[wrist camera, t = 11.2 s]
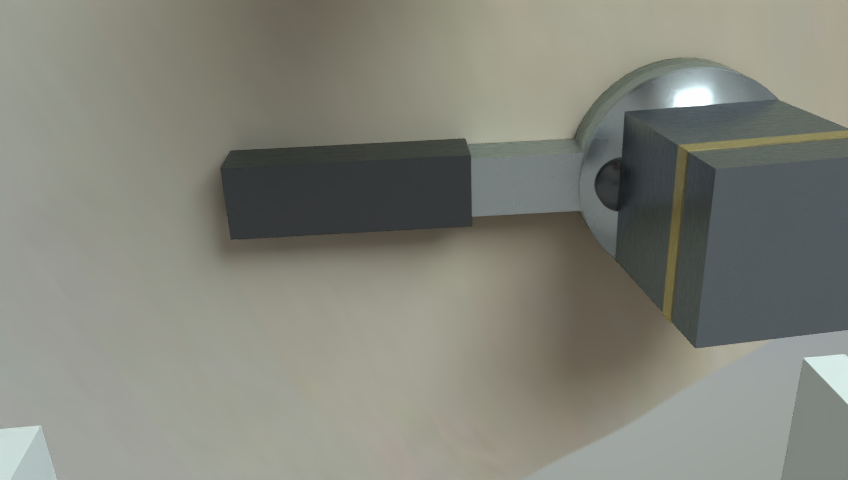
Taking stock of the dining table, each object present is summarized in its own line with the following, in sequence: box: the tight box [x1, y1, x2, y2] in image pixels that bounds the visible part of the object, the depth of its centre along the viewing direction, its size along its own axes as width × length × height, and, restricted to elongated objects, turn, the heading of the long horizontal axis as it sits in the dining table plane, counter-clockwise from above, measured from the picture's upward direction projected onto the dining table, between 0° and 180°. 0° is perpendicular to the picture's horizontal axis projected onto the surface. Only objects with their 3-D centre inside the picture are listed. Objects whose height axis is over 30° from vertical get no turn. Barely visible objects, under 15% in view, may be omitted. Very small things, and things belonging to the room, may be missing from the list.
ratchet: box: [220, 58, 778, 258], centre depth 35 cm, size 26×10×8 cm, turn 92°
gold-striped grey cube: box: [615, 99, 848, 348], centre depth 32 cm, size 7×7×8 cm
